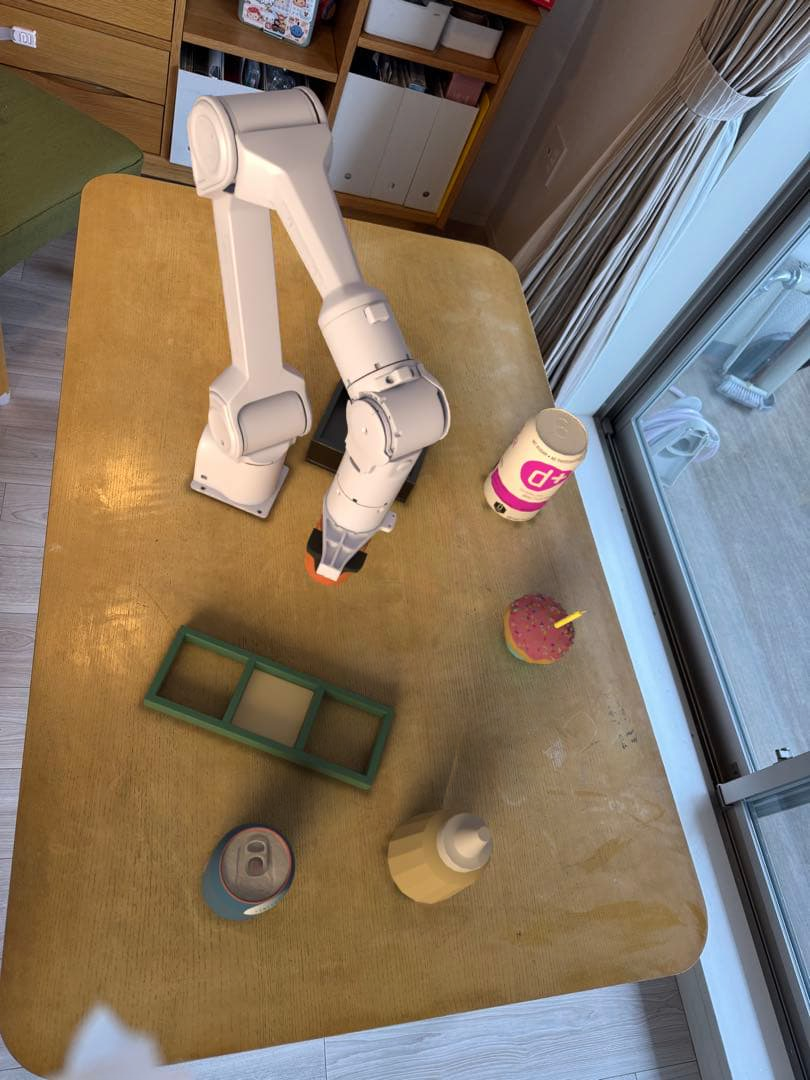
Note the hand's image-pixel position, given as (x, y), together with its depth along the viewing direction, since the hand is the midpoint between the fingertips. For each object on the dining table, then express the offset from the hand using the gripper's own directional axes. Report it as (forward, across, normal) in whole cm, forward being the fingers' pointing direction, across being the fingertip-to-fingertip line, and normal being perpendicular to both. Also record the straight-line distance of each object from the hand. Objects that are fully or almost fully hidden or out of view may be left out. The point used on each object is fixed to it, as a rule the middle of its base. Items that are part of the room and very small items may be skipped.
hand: (334, 550), depth 80 cm
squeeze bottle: (+10, -24, -20) cm, 32 cm away
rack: (+10, -15, -1) cm, 18 cm away
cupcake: (+10, +4, -26) cm, 28 cm away
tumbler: (+3, 0, 0) cm, 3 cm away
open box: (+10, +23, +1) cm, 25 cm away
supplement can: (+10, +24, -19) cm, 33 cm away
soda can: (+10, -31, -4) cm, 33 cm away
